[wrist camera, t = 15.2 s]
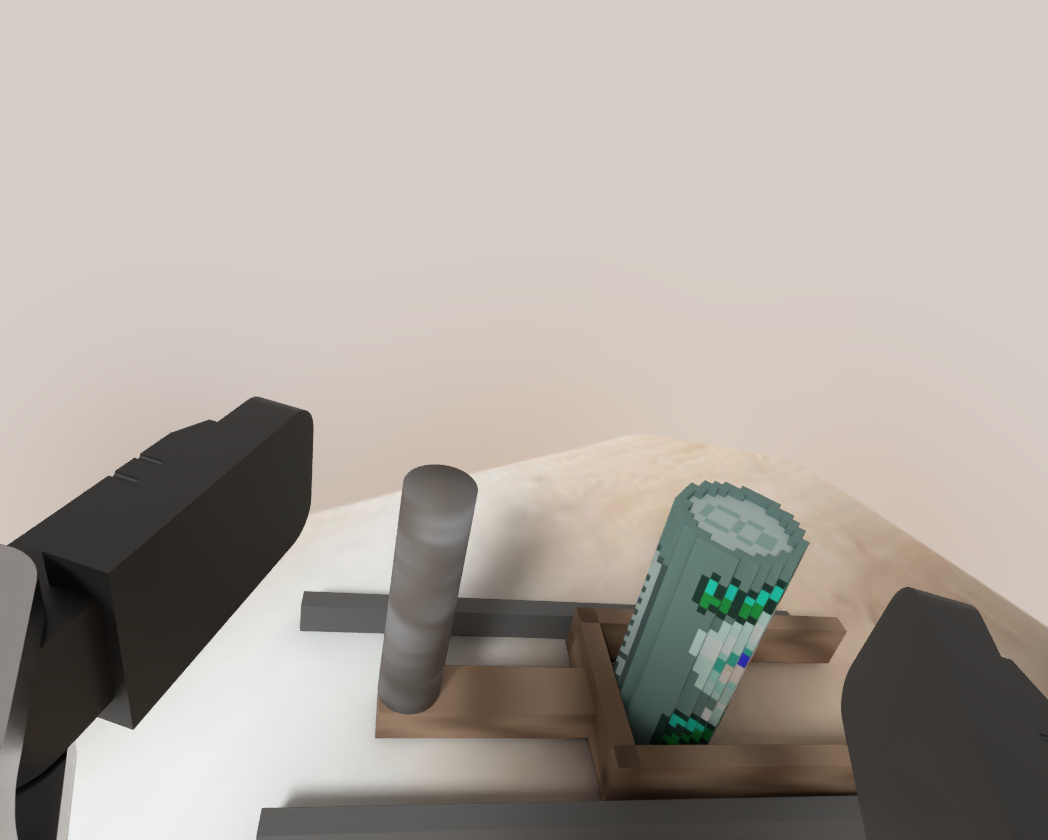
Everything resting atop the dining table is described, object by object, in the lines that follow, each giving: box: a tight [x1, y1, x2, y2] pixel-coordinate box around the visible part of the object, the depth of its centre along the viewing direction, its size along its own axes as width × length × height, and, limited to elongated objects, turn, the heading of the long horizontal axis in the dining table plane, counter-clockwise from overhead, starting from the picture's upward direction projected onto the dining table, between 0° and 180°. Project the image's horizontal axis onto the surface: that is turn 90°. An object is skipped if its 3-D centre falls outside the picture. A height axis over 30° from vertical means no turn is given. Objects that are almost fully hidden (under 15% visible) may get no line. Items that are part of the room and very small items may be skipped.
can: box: [613, 480, 809, 745], centre depth 36 cm, size 6×6×15 cm
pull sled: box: [375, 465, 857, 801], centre depth 36 cm, size 30×10×15 cm, turn 98°
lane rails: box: [256, 591, 866, 840], centre depth 39 cm, size 32×14×2 cm, turn 98°
